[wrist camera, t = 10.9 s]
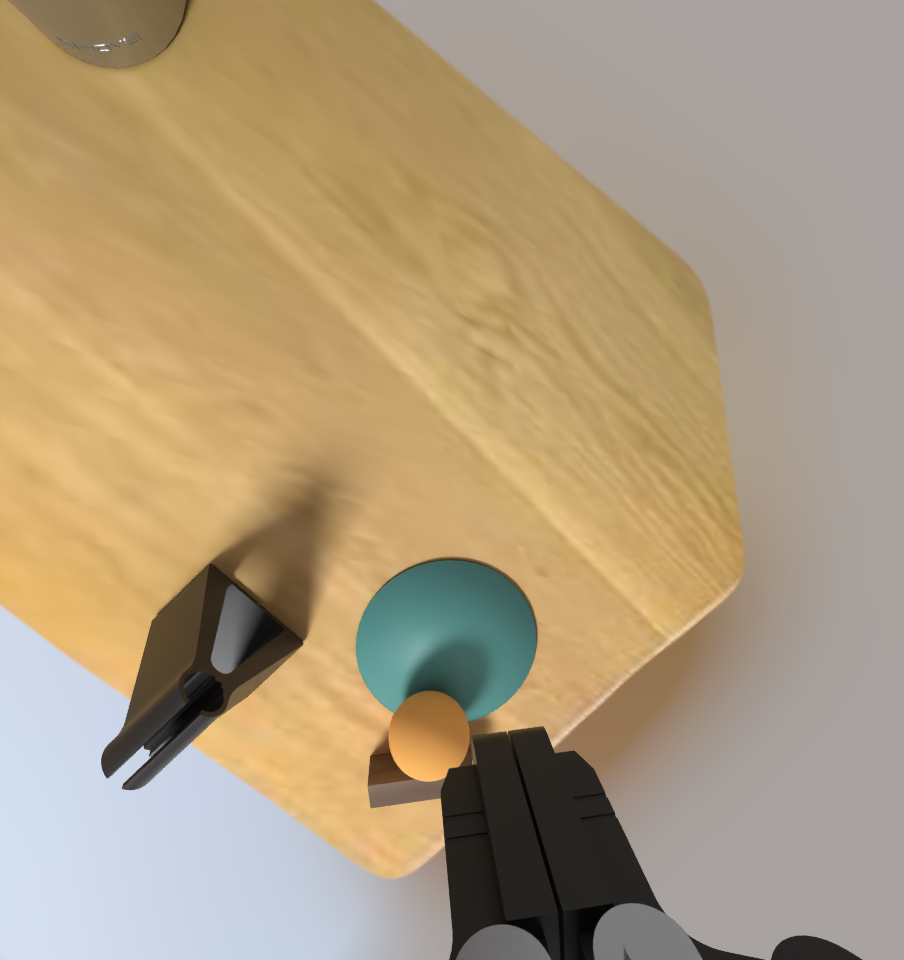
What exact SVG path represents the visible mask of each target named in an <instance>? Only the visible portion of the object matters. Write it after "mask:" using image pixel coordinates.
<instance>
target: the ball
mask: <svg viewBox="0 0 904 960" xmlns="http://www.w3.org/2000/svg"><path fill="white" fill-rule="evenodd" d="M469 741H470V729H469V724H468V720H467V717H466V715H465V713H464V711H463V709H462V708H461V707H460V705H459V704H458V703H457V702H456V701H455V700H454V699H453V698H451V697H450V696H448V695H446V694H444V693H441V692H438V691H422V692H418V693H416V694H414V695H412V696H410V697H408V698H407V699H406V700H405V701H403V702H402V703H401V705H400V706H399V707H398V708H397V710H396V712H395V713H394V715H393V717H392V720H391V723H390V728H389V747H390V751H391V754H392V756H393V759H394V761H395V762H396V764H397V765H398V767H399V768H400V769H401V770H402V771H403V772H404V773H405V774H407V775H408V776H410V777H412V778H414V779H416V780H420V781H426V782H431V781H438V780H441V779H443V778H445V777H446V775H447V772H448V770H449V768H455V767H459V766H460V764H461V763H462V762H463V760H464V758H465V756H466V753H467V751H468V747H469Z"/></svg>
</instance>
